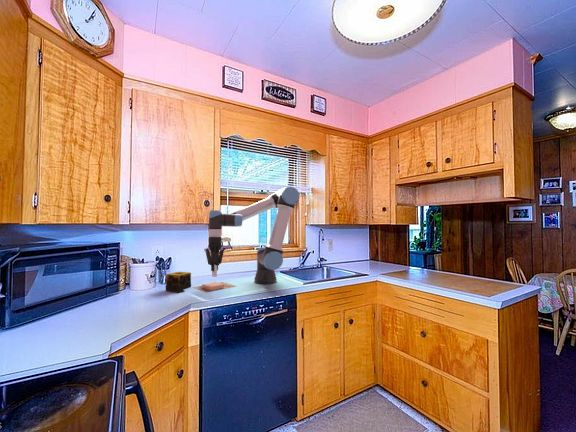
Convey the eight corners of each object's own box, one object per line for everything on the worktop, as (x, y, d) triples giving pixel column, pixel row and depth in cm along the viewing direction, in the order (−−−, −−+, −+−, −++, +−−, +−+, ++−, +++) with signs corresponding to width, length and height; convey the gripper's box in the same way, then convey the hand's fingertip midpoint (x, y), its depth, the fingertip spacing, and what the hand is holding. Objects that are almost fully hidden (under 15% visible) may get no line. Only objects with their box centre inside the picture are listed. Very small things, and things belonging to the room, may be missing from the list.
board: (222, 283, 171) (222, 282, 171) (237, 288, 160) (237, 286, 160) (192, 289, 156) (192, 287, 156) (206, 294, 145) (206, 292, 145)
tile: (215, 281, 161) (202, 284, 155) (224, 284, 155) (210, 286, 148) (215, 285, 161) (202, 288, 155) (224, 288, 155) (210, 290, 148)
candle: (178, 293, 147) (178, 275, 147) (164, 291, 151) (165, 274, 151) (191, 289, 157) (191, 272, 157) (178, 287, 160) (178, 271, 161)
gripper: (221, 235, 164) (220, 274, 163) (201, 236, 154) (201, 277, 153) (228, 236, 158) (227, 275, 158) (208, 236, 149) (207, 279, 148)
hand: (214, 276), depth 155 cm, fingers closed
